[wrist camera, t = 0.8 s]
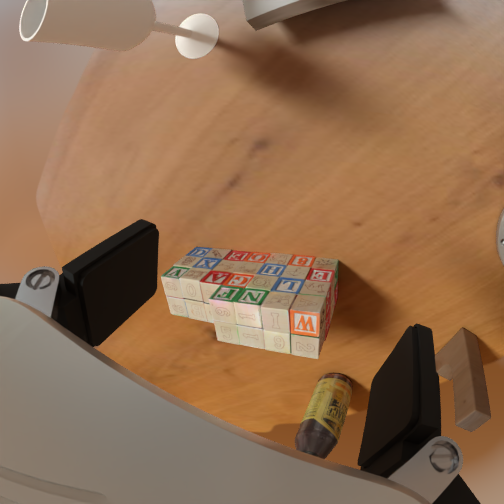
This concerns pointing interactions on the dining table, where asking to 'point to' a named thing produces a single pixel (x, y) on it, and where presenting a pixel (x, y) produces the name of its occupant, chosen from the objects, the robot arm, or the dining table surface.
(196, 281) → the stack of blocks
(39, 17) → the champagne flute
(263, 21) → the grey plank
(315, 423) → the sauce bottle
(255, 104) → the dining table surface
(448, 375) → the wooden block
